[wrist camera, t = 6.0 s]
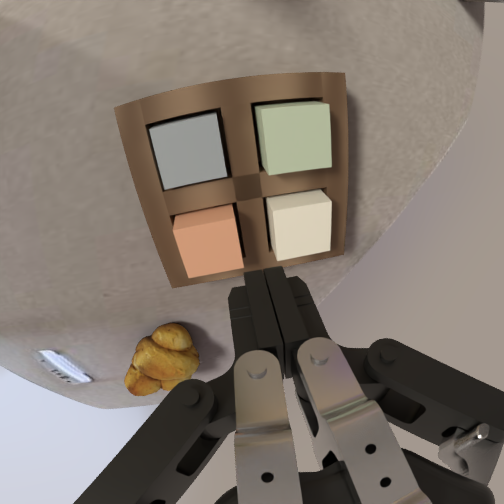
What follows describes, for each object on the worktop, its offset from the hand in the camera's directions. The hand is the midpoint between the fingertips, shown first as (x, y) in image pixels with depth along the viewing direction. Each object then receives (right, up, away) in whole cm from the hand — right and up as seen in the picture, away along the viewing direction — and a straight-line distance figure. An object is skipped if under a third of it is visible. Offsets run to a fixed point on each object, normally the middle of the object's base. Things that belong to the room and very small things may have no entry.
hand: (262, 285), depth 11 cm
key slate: (-6, +10, +11) cm, 16 cm away
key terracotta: (-4, +3, +14) cm, 15 cm away
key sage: (+2, +11, +10) cm, 15 cm away
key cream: (+4, +5, +15) cm, 16 cm away
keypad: (-1, +9, +14) cm, 17 cm away
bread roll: (-13, -12, +27) cm, 33 cm away
